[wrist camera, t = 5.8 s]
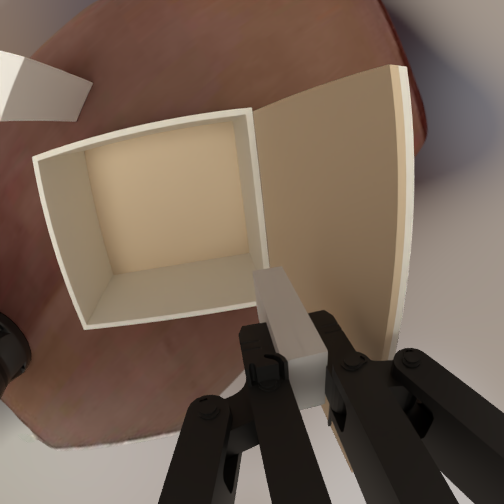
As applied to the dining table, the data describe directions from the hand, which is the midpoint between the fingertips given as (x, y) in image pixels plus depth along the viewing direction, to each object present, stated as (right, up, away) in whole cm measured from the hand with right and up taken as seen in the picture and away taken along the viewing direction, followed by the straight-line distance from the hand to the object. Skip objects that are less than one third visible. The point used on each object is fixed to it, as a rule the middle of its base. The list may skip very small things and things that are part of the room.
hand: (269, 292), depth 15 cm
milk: (-27, +24, +18) cm, 40 cm away
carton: (-13, +9, +26) cm, 30 cm away
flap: (+2, +2, +4) cm, 5 cm away
